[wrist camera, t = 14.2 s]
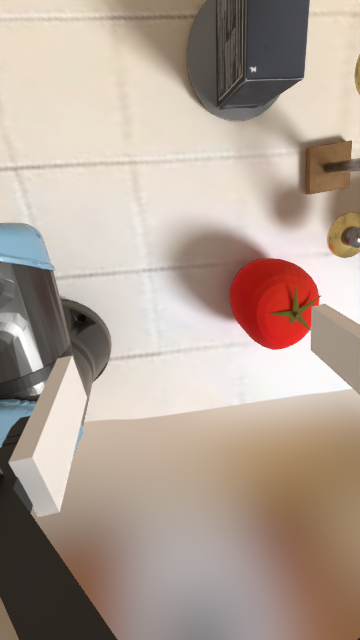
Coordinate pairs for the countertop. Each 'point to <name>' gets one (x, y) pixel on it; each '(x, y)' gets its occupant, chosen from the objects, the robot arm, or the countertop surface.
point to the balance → (336, 187)
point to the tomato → (273, 302)
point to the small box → (259, 50)
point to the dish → (211, 66)
